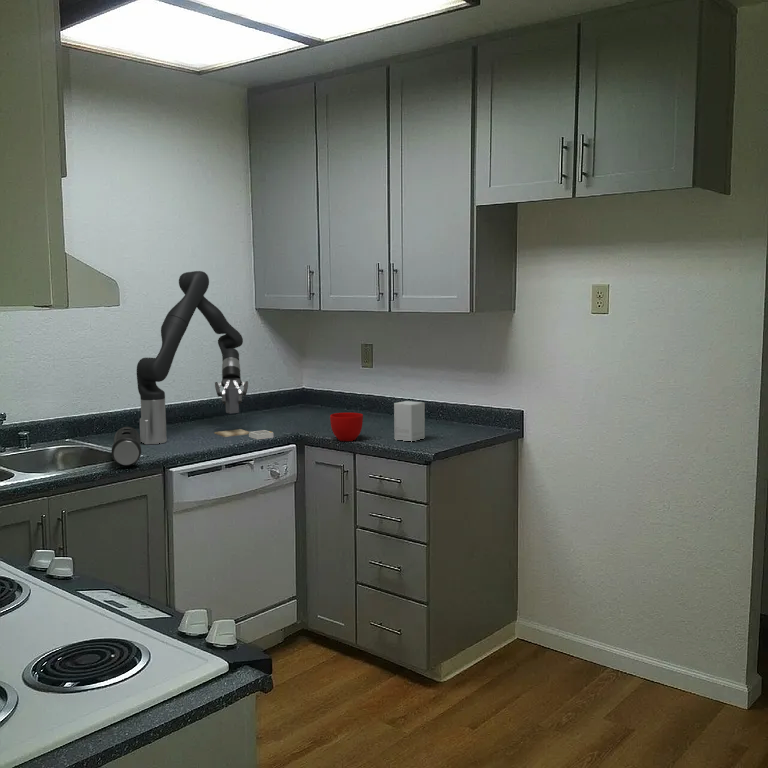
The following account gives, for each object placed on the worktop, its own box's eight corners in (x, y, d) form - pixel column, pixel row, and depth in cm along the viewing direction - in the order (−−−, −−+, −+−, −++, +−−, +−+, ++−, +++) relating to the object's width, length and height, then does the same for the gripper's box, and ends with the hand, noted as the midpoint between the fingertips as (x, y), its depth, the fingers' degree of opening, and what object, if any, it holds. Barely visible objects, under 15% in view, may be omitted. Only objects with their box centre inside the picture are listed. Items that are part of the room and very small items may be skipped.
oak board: (224, 438, 329) (224, 435, 329) (214, 434, 337) (214, 432, 337) (251, 434, 336) (251, 432, 336) (240, 431, 344) (240, 429, 344)
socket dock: (257, 440, 323) (257, 433, 322) (249, 438, 329) (248, 431, 328) (273, 438, 327) (273, 432, 327) (265, 436, 333) (264, 429, 332)
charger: (229, 413, 333) (229, 389, 331) (225, 412, 336) (225, 388, 335) (238, 412, 335) (238, 388, 334) (234, 411, 338) (234, 387, 337)
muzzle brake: (141, 452, 301) (140, 425, 300) (141, 468, 274) (140, 438, 273) (113, 454, 298) (112, 426, 297) (111, 470, 271) (110, 440, 270)
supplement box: (425, 439, 324) (425, 402, 322) (411, 442, 317) (411, 404, 315) (407, 437, 329) (407, 400, 328) (393, 440, 323) (393, 402, 321)
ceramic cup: (373, 436, 330) (373, 412, 329) (353, 444, 315) (352, 418, 314) (345, 434, 336) (345, 410, 335) (324, 441, 321) (323, 416, 320)
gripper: (213, 365, 339) (213, 398, 329) (248, 364, 342) (249, 397, 331) (214, 376, 345) (214, 409, 335) (248, 375, 348) (250, 408, 337)
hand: (232, 402), depth 333 cm, fingers closed on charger, 5 cm apart
